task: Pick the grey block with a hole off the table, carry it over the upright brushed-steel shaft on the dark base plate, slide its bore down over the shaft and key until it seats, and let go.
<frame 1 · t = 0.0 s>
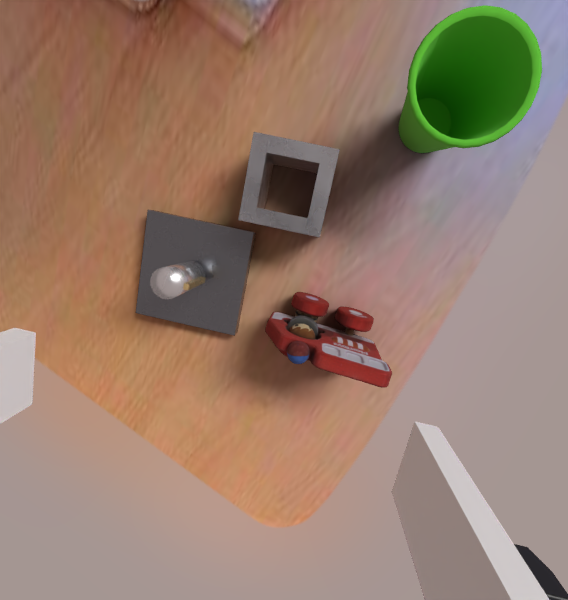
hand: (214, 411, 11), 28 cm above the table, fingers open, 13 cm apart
toy fire truck: (322, 327, 40), on the table
cup: (423, 127, 34), on the table
grey block with hole: (291, 192, 37), on the table
shaft stand: (196, 272, 39), on the table
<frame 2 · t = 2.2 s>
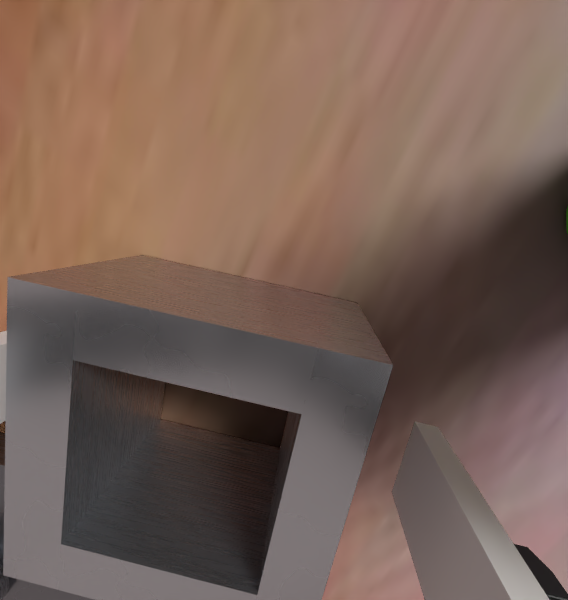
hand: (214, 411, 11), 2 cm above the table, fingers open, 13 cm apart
grey block with hole: (229, 378, 13), on the table
shaft stand: (7, 543, 16), on the table
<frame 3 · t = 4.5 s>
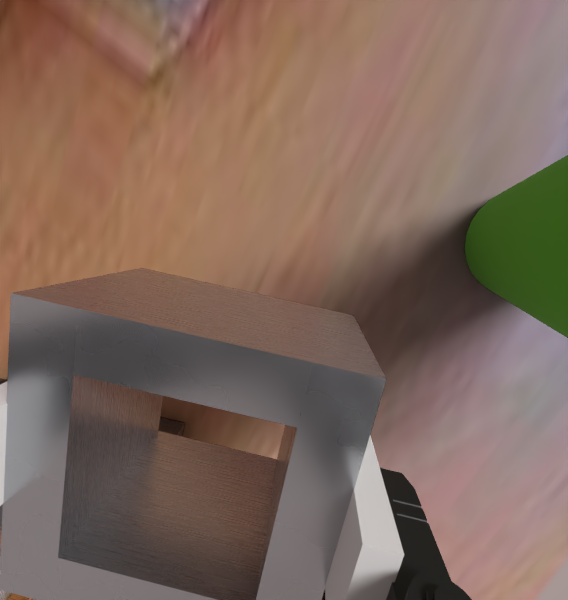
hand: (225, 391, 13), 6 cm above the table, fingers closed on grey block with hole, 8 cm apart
cup: (512, 243, 17), on the table
grey block with hole: (227, 389, 13), point 6 cm above the table, touching gripper
shaft stand: (79, 485, 21), on the table
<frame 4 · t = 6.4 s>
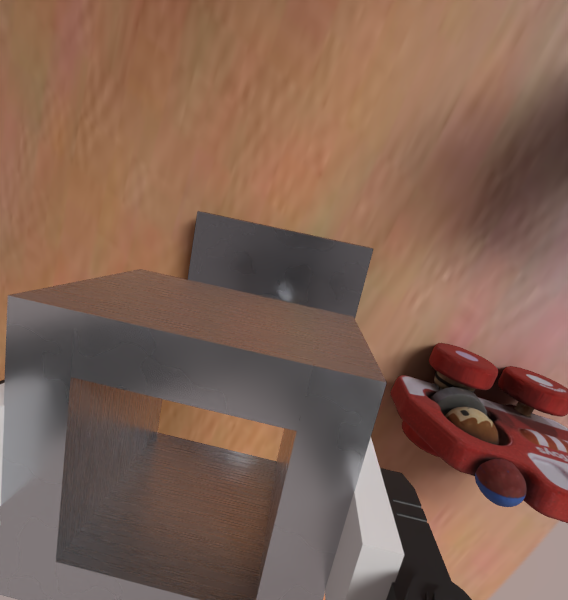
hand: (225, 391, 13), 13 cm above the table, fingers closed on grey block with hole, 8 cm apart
toy fire truck: (465, 394, 25), on the table
grey block with hole: (227, 391, 13), point 12 cm above the table, touching gripper
shaft stand: (269, 309, 25), on the table
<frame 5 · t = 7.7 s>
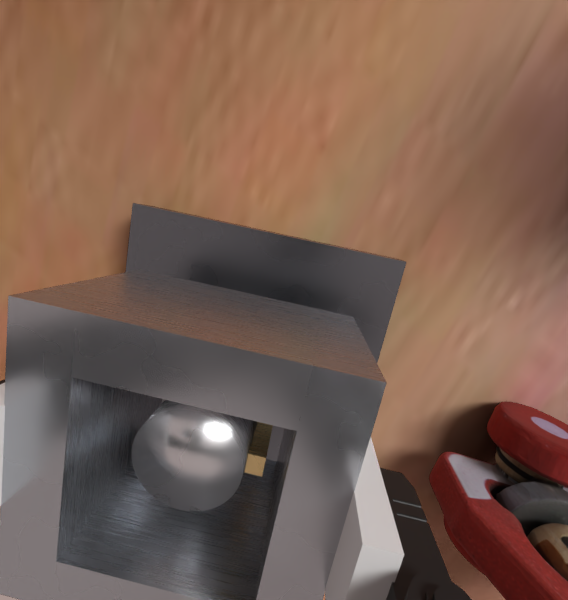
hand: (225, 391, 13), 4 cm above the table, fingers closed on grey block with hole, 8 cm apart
toy fire truck: (533, 472, 17), on the table
grey block with hole: (227, 391, 13), point 4 cm above the table, touching gripper
shaft stand: (248, 349, 17), on the table
when the fingers open (2 cm above the table, at t = 8.5 s): grey block with hole stays where it is, resting on shaft stand.
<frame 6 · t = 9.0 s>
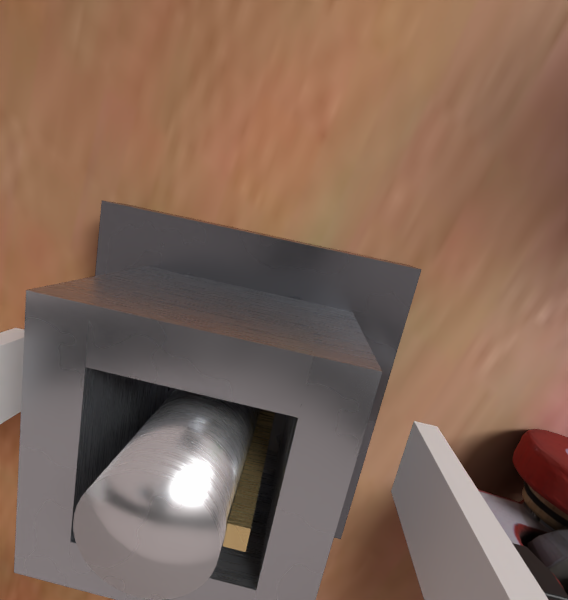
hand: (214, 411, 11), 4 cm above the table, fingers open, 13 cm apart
toy fire truck: (563, 507, 15), on the table
grey block with hole: (230, 383, 13), point 1 cm above the table, touching shaft stand
shaft stand: (238, 368, 15), on the table
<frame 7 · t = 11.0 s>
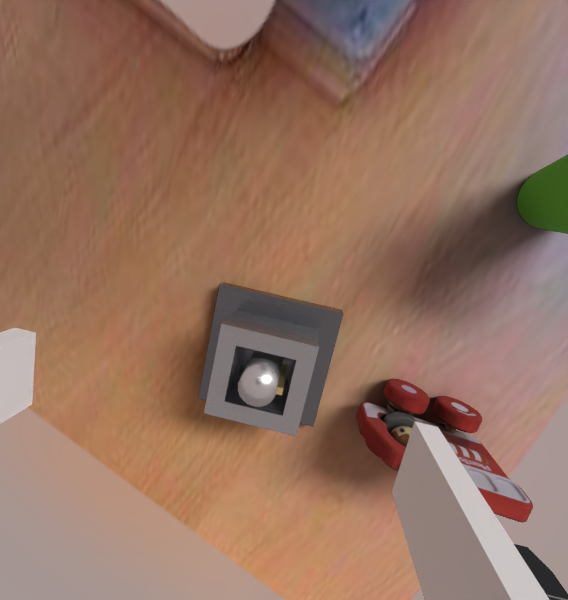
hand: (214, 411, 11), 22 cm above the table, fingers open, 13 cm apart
toy fire truck: (412, 416, 34), on the table
cup: (544, 199, 30), on the table
grey block with hole: (267, 357, 33), point 1 cm above the table, touching shaft stand
shaft stand: (269, 352, 34), on the table
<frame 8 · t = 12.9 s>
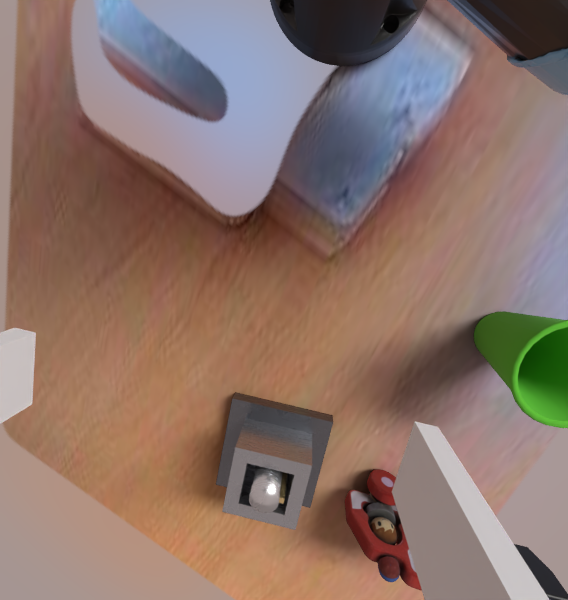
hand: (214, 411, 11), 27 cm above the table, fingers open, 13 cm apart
toy fire truck: (391, 496, 42), on the table
cup: (495, 333, 37), on the table
grey block with hole: (272, 454, 40), point 1 cm above the table, touching shaft stand
shaft stand: (273, 446, 41), on the table
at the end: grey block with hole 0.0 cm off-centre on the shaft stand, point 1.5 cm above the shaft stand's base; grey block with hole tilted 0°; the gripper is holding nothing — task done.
